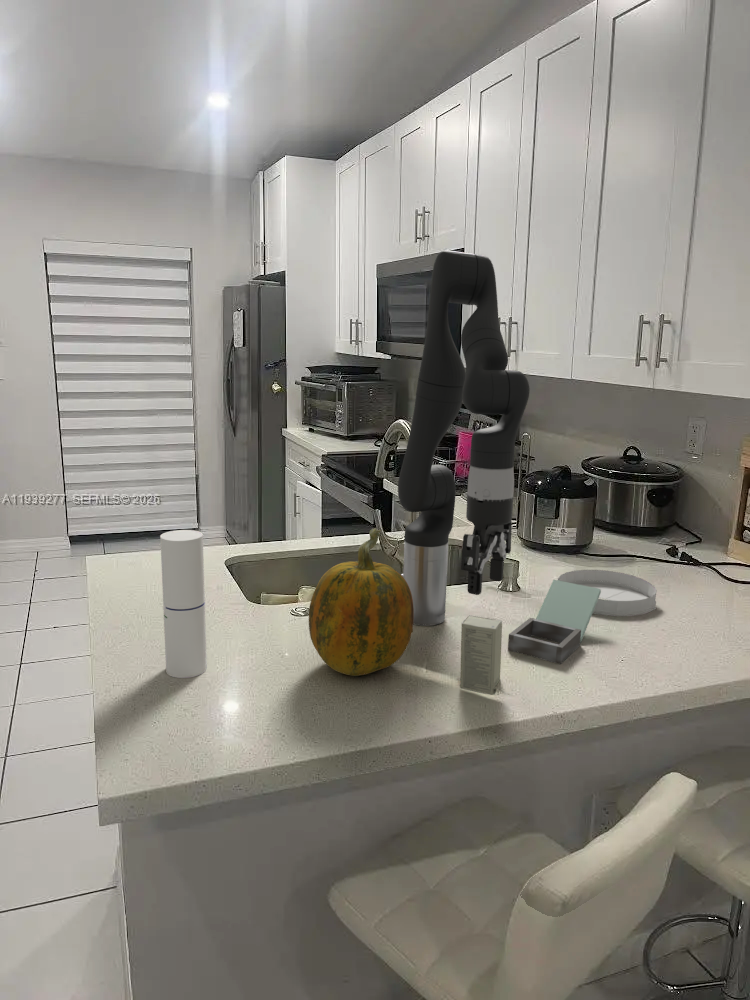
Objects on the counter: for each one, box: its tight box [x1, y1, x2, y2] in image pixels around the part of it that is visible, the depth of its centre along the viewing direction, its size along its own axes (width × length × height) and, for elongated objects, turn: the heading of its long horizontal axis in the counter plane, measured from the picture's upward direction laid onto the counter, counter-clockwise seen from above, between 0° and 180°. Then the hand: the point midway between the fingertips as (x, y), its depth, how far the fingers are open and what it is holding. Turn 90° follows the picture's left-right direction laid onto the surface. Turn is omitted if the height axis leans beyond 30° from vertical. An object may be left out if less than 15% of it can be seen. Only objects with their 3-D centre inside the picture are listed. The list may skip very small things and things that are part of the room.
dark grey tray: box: [507, 617, 581, 665], centre depth 150 cm, size 20×28×4 cm
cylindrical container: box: [159, 529, 208, 679], centre depth 133 cm, size 7×7×25 cm
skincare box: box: [459, 615, 503, 696], centre depth 130 cm, size 6×4×12 cm
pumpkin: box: [308, 527, 414, 677], centre depth 135 cm, size 19×19×25 cm
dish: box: [557, 569, 657, 617], centre depth 173 cm, size 22×22×5 cm
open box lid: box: [535, 579, 601, 644], centre depth 154 cm, size 10×13×1 cm
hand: (485, 586), depth 127 cm, fingers open, 8 cm apart
